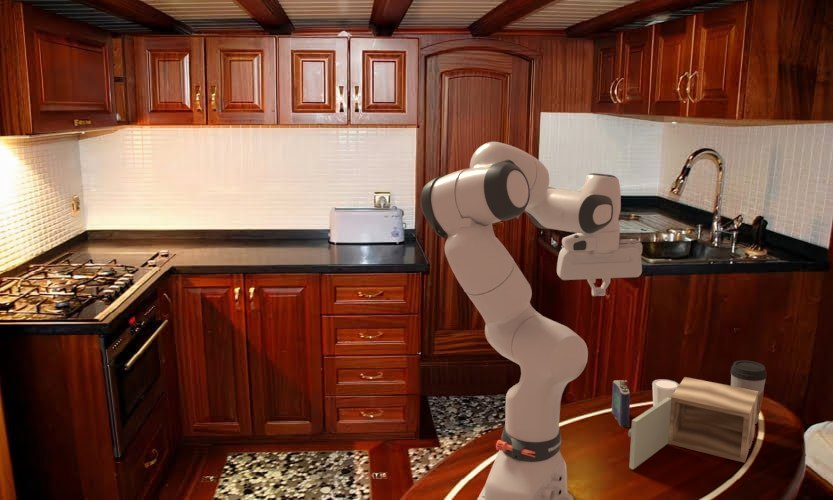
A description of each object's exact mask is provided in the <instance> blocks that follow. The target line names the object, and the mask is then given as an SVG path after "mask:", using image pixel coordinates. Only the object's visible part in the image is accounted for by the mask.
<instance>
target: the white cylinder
mask: <svg viewBox="0 0 833 500" xmlns="http://www.w3.org/2000/svg"><path fill="white" fill-rule="evenodd" d="M679 384H680V383H678V382H677V381H675V380H670V379H666V378H665V379H663V378H662V379H660V378H659V379H655V380H653V381H652V383H651V385H652V403H653V404H652V407H653V406H655V405H656V404H658V403H659V402H661V401H662V400H664V399H665V398H667V397H669V398H671V396H672V395H673V393H674V392H675V390H676V389H677V387H678V386H679Z"/></svg>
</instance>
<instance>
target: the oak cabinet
mask: <svg viewBox="0 0 833 500" xmlns="http://www.w3.org/2000/svg"><path fill="white" fill-rule="evenodd" d="M678 384H679V386H678V387H677V389H676V390H675V392H674V393H673V395H672V396H671V412H670V426H669V440H668V444H667V445H671V446H676V447H680V448H685V449H687V450H692V451H697V452H700V453H704V454H708V455H712V456H717V457H720V458H724V459H729V460H732V461H736V462H740V463H746V460H747V457H748V455H749V451H750V450H749V449H751V447H752V444H753V442H752V441H754V438H755V433H756V425H755V423H756V413H757V403H758V393H759V391H754V390H749V389H744V388H739V387H734V386H731V385H728V384H723V383H719V382H714V381H713V382H712V381H706V380H703V379H697V378H692V377H689V376H688V377H686V376H684V377H683V379H682V380H681V382H680V383H678ZM756 424H757V423H756Z"/></svg>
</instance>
